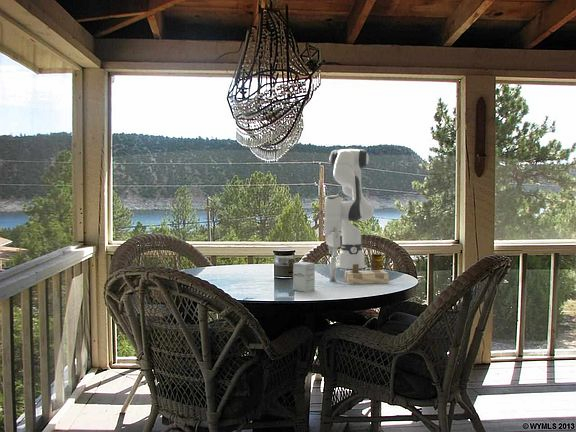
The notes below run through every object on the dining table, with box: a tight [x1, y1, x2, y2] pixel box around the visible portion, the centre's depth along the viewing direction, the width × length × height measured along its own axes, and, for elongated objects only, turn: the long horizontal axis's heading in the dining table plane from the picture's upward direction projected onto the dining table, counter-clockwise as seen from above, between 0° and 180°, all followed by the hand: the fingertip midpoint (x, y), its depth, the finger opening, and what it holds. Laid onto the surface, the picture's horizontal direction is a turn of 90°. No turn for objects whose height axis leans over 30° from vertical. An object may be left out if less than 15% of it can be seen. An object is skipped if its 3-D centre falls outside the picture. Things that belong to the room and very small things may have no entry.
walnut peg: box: [352, 264, 360, 273], centre depth 273 cm, size 3×3×9 cm
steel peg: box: [329, 256, 337, 282], centre depth 276 cm, size 3×3×12 cm
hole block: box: [344, 269, 389, 285], centre depth 273 cm, size 9×20×5 cm, turn 96°
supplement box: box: [292, 261, 316, 293], centre depth 251 cm, size 7×7×13 cm
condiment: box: [370, 253, 383, 271], centre depth 290 cm, size 7×8×12 cm
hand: (332, 254), depth 276 cm, fingers open, 8 cm apart
